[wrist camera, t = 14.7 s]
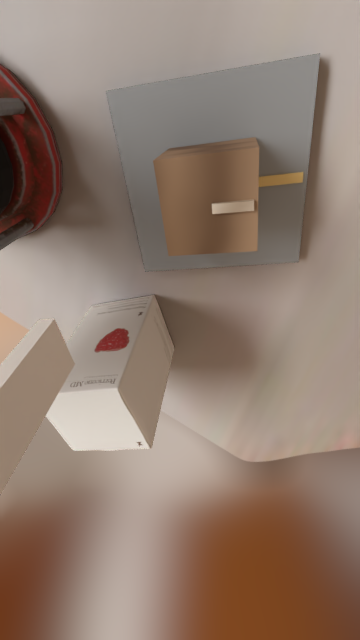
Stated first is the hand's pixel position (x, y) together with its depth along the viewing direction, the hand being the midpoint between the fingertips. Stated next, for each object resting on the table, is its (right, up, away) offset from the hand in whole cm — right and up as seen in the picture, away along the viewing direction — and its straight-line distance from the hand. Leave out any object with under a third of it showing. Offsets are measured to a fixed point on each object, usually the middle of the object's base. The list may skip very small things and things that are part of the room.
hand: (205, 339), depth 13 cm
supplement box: (-7, 0, +27) cm, 28 cm away
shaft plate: (+2, +14, +16) cm, 21 cm away
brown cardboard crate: (+2, +13, +15) cm, 19 cm away
